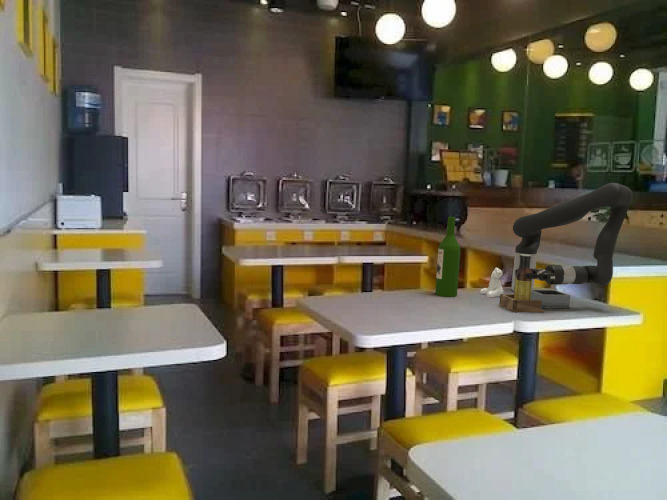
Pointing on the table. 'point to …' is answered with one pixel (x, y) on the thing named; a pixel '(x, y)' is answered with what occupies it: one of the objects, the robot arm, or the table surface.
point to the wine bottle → (448, 263)
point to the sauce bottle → (523, 279)
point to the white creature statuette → (494, 285)
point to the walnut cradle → (519, 304)
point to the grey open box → (551, 298)
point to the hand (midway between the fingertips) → (520, 274)
